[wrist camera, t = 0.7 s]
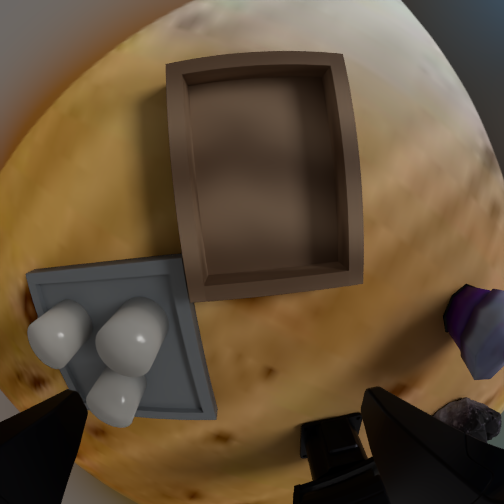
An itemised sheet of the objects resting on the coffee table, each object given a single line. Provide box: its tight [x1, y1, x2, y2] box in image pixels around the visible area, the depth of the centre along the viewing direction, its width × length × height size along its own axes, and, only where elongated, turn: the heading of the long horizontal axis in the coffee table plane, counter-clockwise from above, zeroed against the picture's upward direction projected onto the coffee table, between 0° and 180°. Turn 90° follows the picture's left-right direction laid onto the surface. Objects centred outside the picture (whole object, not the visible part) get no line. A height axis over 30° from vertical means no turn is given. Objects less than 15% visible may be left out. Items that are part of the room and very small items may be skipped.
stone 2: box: [95, 297, 169, 377], centre depth 17 cm, size 4×4×4 cm
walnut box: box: [166, 51, 364, 303], centre depth 17 cm, size 15×11×3 cm
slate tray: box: [26, 253, 218, 420], centre depth 20 cm, size 15×15×1 cm
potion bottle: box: [443, 284, 504, 380], centre depth 15 cm, size 9×9×12 cm
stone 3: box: [86, 366, 147, 427], centre depth 19 cm, size 4×4×4 cm
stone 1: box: [28, 299, 93, 369], centre depth 17 cm, size 4×4×4 cm
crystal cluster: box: [433, 397, 501, 443], centre depth 22 cm, size 13×14×10 cm
